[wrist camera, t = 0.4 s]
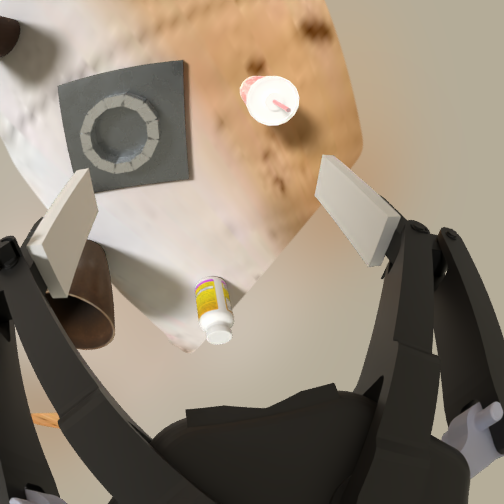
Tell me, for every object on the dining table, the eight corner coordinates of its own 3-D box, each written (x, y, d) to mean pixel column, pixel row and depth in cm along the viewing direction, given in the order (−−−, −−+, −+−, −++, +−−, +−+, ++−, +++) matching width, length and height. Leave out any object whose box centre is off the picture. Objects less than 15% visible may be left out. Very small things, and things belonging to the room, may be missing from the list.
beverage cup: (250, 62, 32) (282, 68, 21) (284, 85, 35) (328, 104, 24) (225, 97, 34) (244, 118, 24) (260, 117, 37) (293, 149, 27)
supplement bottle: (189, 292, 58) (195, 344, 48) (202, 271, 55) (210, 324, 45) (217, 299, 61) (227, 349, 52) (232, 279, 58) (244, 330, 48)
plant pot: (129, 282, 52) (123, 351, 41) (65, 282, 49) (48, 347, 37) (119, 220, 43) (102, 292, 31) (45, 224, 39) (12, 290, 27)
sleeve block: (60, 85, 26) (50, 88, 24) (183, 60, 29) (182, 60, 27) (81, 192, 38) (75, 203, 35) (188, 176, 41) (189, 186, 39)
